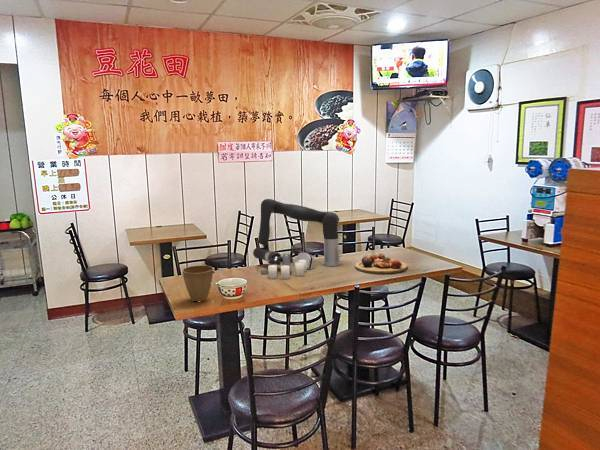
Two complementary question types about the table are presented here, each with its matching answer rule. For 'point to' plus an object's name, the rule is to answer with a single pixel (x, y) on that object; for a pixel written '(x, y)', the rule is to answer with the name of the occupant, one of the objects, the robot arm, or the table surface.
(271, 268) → the cylinder
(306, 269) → the spacer
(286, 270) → the spacer
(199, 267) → the plant pot
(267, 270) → the mat
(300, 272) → the spacer
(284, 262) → the bushing
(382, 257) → the wooden plate with food
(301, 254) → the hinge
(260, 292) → the table surface
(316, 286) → the table surface
